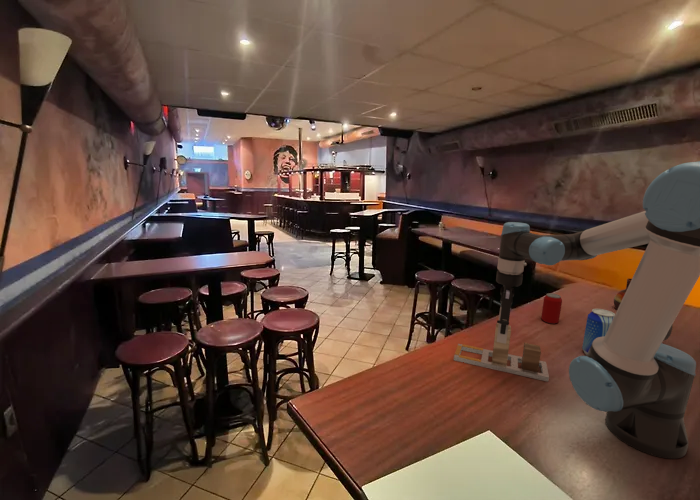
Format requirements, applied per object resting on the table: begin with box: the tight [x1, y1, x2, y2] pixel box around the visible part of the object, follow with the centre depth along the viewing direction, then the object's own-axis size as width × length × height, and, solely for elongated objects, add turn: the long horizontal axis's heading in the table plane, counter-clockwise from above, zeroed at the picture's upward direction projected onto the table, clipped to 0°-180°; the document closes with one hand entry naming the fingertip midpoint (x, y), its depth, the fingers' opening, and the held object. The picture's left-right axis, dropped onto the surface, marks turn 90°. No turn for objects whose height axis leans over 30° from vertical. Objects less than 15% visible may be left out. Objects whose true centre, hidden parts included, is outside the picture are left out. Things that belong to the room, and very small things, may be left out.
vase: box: [613, 278, 632, 311], centre depth 162 cm, size 11×11×15 cm
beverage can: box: [540, 292, 563, 325], centre depth 148 cm, size 7×7×12 cm
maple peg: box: [491, 322, 512, 366], centre depth 113 cm, size 4×4×13 cm
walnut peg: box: [520, 342, 542, 373], centre depth 110 cm, size 4×4×8 cm
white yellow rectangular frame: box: [453, 343, 550, 382], centre depth 114 cm, size 10×28×2 cm, turn 65°
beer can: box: [581, 308, 616, 356], centre depth 120 cm, size 8×8×16 cm
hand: (501, 333), depth 113 cm, fingers open, 13 cm apart
